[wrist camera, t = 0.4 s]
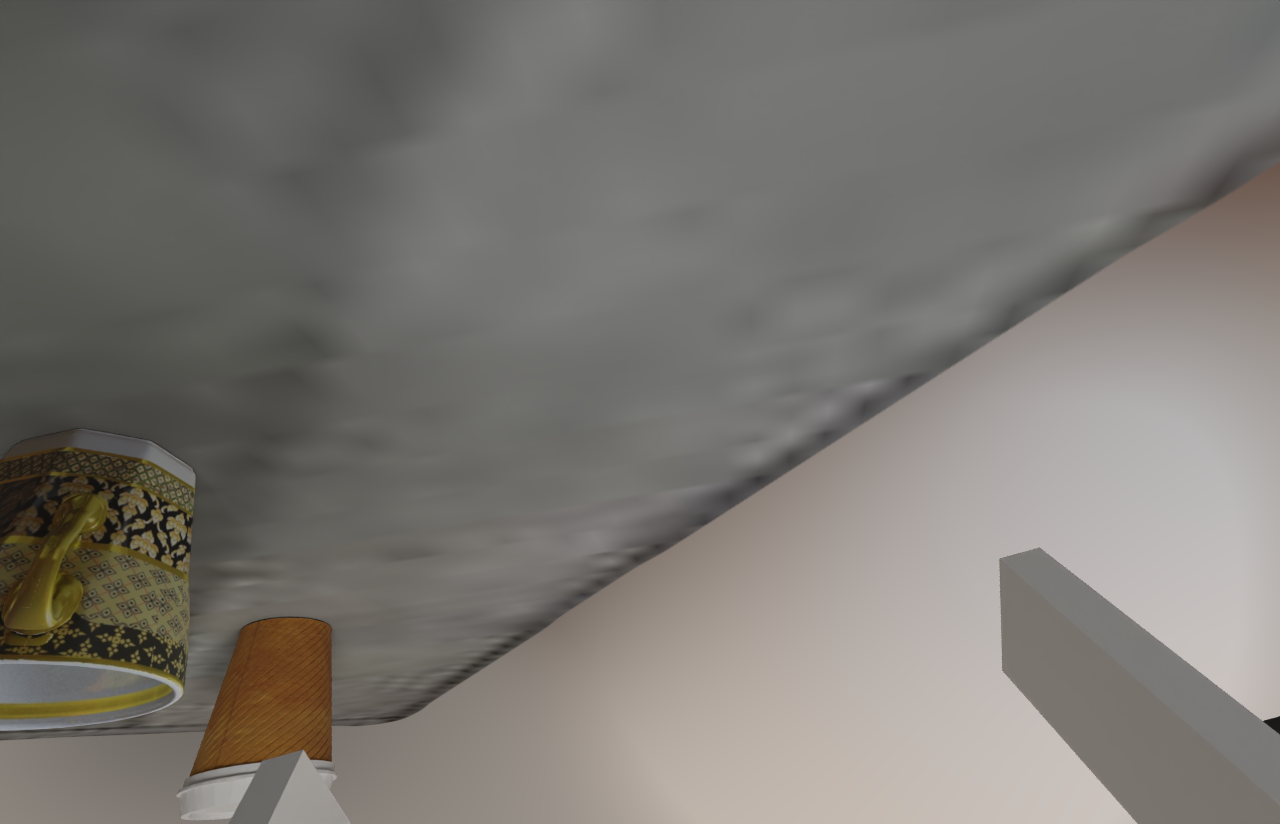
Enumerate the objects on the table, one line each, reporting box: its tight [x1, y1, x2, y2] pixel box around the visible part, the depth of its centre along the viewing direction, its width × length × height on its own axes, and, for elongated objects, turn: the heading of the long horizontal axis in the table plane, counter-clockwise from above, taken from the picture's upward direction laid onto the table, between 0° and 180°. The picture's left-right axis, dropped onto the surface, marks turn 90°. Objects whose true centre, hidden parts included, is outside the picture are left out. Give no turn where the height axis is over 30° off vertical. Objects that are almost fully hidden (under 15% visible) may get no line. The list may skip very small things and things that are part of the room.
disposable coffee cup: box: [177, 618, 337, 820], centre depth 45 cm, size 10×10×12 cm
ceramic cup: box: [0, 429, 196, 730], centre depth 24 cm, size 13×10×10 cm
